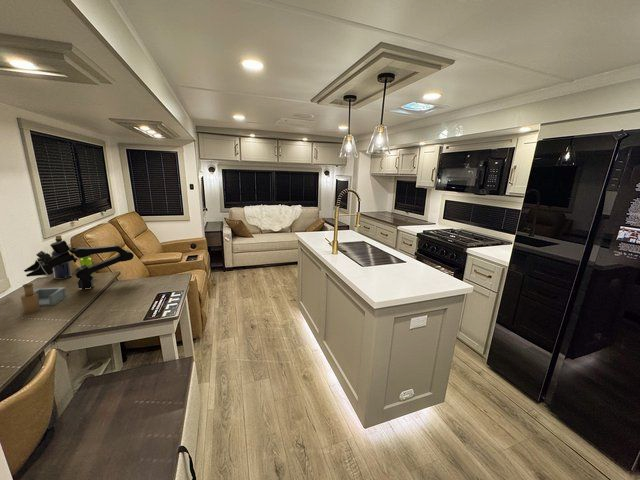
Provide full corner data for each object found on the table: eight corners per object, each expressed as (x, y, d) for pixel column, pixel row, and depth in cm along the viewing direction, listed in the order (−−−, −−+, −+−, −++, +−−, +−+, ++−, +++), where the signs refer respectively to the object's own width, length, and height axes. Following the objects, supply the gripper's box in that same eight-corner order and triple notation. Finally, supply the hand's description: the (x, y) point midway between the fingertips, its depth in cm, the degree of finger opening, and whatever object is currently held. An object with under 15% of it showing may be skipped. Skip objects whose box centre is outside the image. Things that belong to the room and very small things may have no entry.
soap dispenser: (96, 275, 190) (94, 248, 186) (87, 278, 184) (84, 250, 180) (89, 274, 191) (86, 247, 187) (79, 277, 184) (76, 250, 180)
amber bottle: (42, 308, 141) (39, 282, 138) (35, 313, 135) (31, 286, 132) (28, 309, 138) (24, 282, 135) (20, 314, 133) (15, 287, 130)
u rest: (37, 297, 151) (36, 288, 150) (66, 295, 156) (65, 287, 155) (23, 307, 140) (21, 297, 139) (54, 305, 145) (53, 295, 143)
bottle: (60, 280, 177) (55, 237, 171) (50, 278, 179) (44, 235, 173) (75, 275, 186) (71, 235, 180) (65, 274, 187) (60, 233, 181)
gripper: (49, 245, 158) (13, 257, 147) (55, 252, 147) (17, 266, 137) (60, 260, 163) (26, 273, 153) (66, 268, 152) (31, 282, 142)
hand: (25, 273), depth 146 cm, fingers open, 9 cm apart
